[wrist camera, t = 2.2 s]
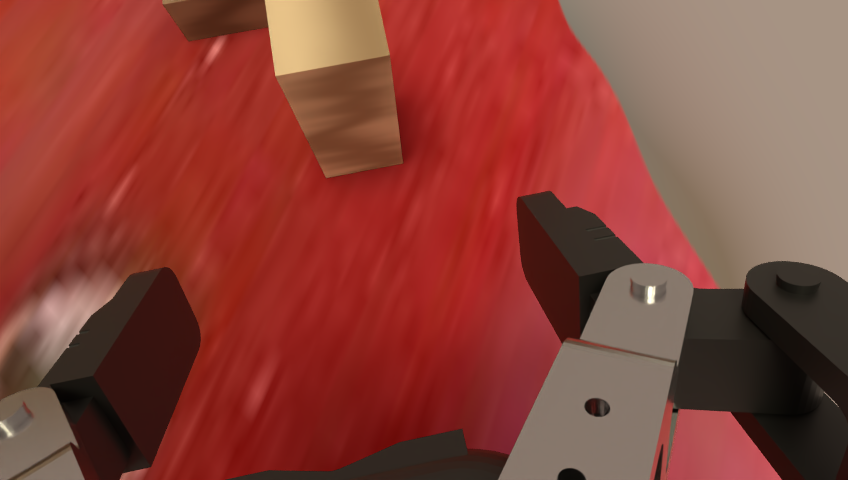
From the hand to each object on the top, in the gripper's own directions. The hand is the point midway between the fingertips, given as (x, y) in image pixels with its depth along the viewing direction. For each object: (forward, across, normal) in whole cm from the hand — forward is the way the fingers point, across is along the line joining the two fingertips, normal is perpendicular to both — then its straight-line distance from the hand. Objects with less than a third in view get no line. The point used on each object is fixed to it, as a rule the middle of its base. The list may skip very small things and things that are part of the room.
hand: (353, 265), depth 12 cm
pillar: (+19, 0, +2) cm, 20 cm away
